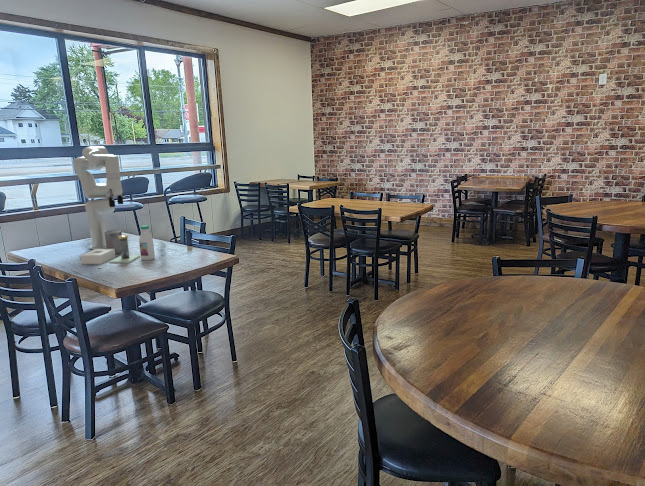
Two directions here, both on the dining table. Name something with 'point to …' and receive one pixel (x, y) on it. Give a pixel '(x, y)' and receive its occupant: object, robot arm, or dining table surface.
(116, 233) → the grey bin
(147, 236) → the milk bottle
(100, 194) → the robot arm
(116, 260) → the pad
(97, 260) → the block
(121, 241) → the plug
